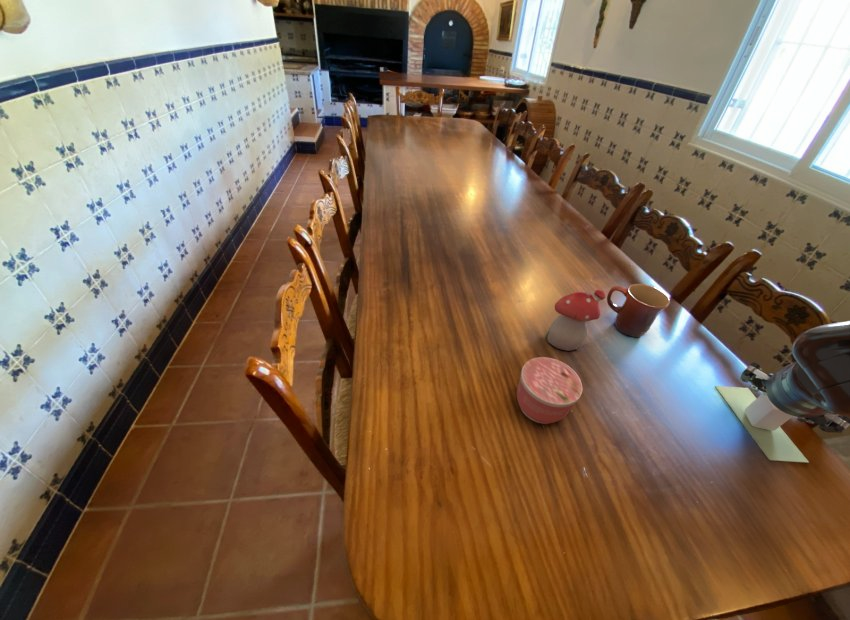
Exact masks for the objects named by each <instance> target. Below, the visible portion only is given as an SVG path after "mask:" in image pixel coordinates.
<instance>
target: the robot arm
mask: <svg viewBox="0 0 850 620" xmlns="http://www.w3.org/2000/svg"><path fill="white" fill-rule="evenodd" d="M791 354H792V357H793V358H794V360H795V361H794V362H790V363H789V364H787V365H785V366H784V367H782V368H781V369H779V370H778V371H776V372H775V373H768V374H766V373H765V372H764V371H763V368H762V367H761V365H760V364H759V363H757V362H755V361H753V362H751V363H750V364H749V365H748V366H747V367H746V368H744V370H743V371H742V372H741V375H740V377H739V378H740V380H741V381H742V382H743V383H750V385H749V388H750V389H752V390H751V392H752V393H753V394H757V393H758V392H759V393H761V394H763V395H766V396H768V398H769V400H770V401H771V403H772V404H773V405H774V406H775V407H777V408H778V409H779V410H781V411H782V412H784V413H787V414H789V415H792V416H793V417H795V418H796V420H797V421H798V422H800V423H803V422H804V423H807V424H811V425H814V424H816V425H818V428H819V429H820V431H822V432H826V433H832V434H833V433H834V434H835V433H837V434H838V433H839V434H842V433H843V432H844V431H846V429H848V427H849V426H850V320H847V321H840V322H833V323H828V324H823V325H819V326H815V327H812V328H809V329H806V330H805V331H803V332H801V333H800V334H799V335H797V336H796V338H795V339H794V341H793V342H792V345H791Z"/></svg>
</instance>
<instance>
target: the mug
mask: <svg viewBox="0 0 850 620" xmlns="http://www.w3.org/2000/svg"><path fill="white" fill-rule="evenodd" d="M615 291H617V292H620V293H621V294H622V295H623V296H624V297H625V300H624V302H623V304H622V305H620V306H619V305H617V304H615V303H614V302H613V300H612V298H613V297H612V296H613V293H615ZM606 303H607V305H608V307H609V308H610V309H611V310H612V311H613V312H614V313H616V316H615V319H614V325H615V327H616V328H617V330H619V332H621V333H622V334H624V335H627V336H629V337H632V338H633V337H636V338H638V337H643V336H645V334H647V333H648V331H649V330H650V329H651V327H652V325H653V324H654V322H655V321H656V319H657V317H658V315H659V314H661V313H662V311H664V310H665V309H666V308H667V307H669V305H670V304H671V300H670V298H669V296H668V295H667V294H666V293H665V292H663V291H662V290H660V289H659V288H657V287H654V286H652V285H649V284H644V283H633V284H630V285H629V286H628V287H624V286H621V285H615V286H612V287H610V289H609V291H608V292H607V295H606Z"/></svg>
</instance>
